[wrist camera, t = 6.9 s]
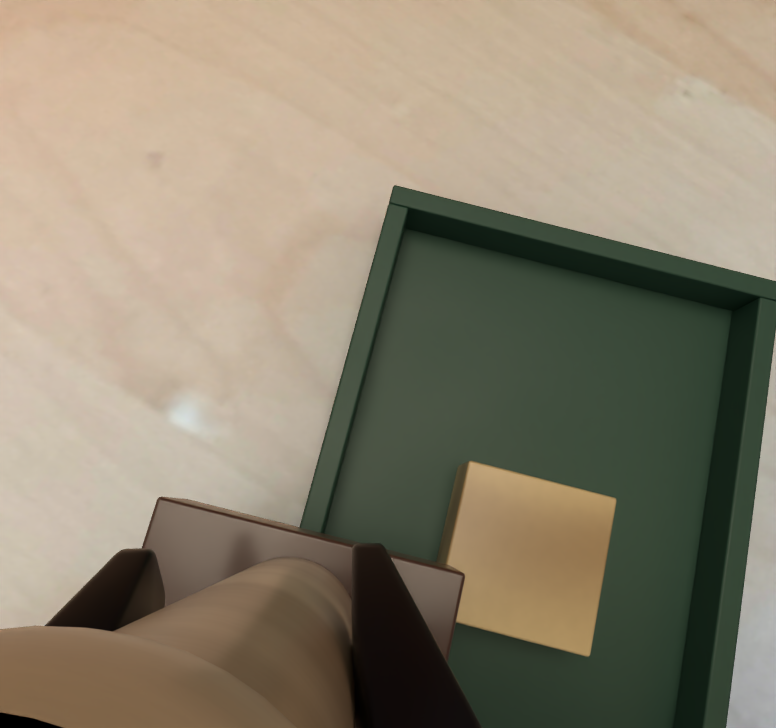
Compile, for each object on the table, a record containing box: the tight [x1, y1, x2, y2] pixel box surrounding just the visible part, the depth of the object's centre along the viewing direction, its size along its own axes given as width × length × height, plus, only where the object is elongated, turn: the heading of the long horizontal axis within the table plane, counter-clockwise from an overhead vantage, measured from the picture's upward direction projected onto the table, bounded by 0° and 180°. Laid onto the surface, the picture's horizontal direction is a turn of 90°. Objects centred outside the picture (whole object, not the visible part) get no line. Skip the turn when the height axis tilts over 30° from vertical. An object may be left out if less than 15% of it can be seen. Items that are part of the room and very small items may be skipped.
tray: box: [300, 185, 776, 728], centre depth 18 cm, size 18×12×2 cm, turn 166°
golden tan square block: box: [436, 461, 616, 657], centre depth 18 cm, size 4×4×2 cm
